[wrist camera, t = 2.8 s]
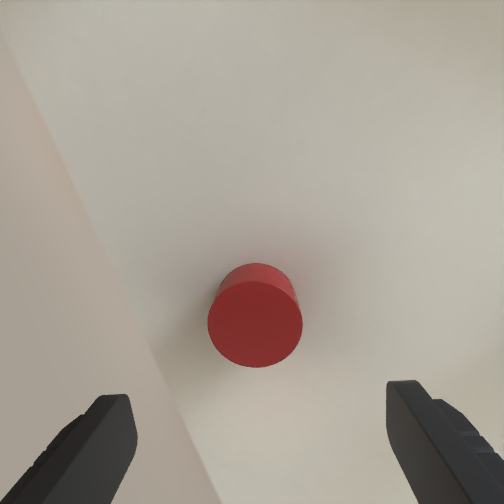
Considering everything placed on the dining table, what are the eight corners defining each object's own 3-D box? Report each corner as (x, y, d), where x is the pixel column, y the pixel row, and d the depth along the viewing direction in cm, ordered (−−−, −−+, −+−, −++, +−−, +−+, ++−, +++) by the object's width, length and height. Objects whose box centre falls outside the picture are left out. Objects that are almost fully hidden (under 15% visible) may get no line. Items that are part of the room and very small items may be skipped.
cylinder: (206, 317, 17) (193, 345, 14) (236, 250, 16) (230, 264, 13) (274, 347, 17) (277, 381, 14) (309, 283, 16) (319, 305, 13)
